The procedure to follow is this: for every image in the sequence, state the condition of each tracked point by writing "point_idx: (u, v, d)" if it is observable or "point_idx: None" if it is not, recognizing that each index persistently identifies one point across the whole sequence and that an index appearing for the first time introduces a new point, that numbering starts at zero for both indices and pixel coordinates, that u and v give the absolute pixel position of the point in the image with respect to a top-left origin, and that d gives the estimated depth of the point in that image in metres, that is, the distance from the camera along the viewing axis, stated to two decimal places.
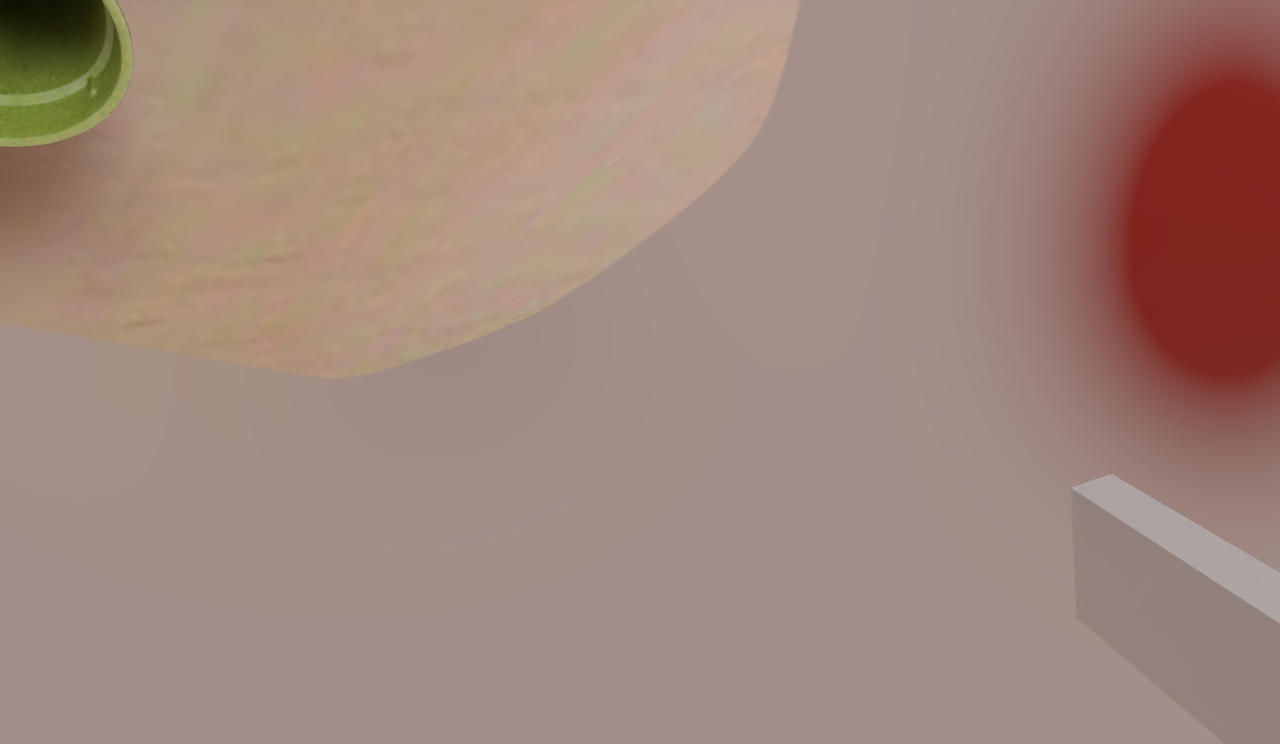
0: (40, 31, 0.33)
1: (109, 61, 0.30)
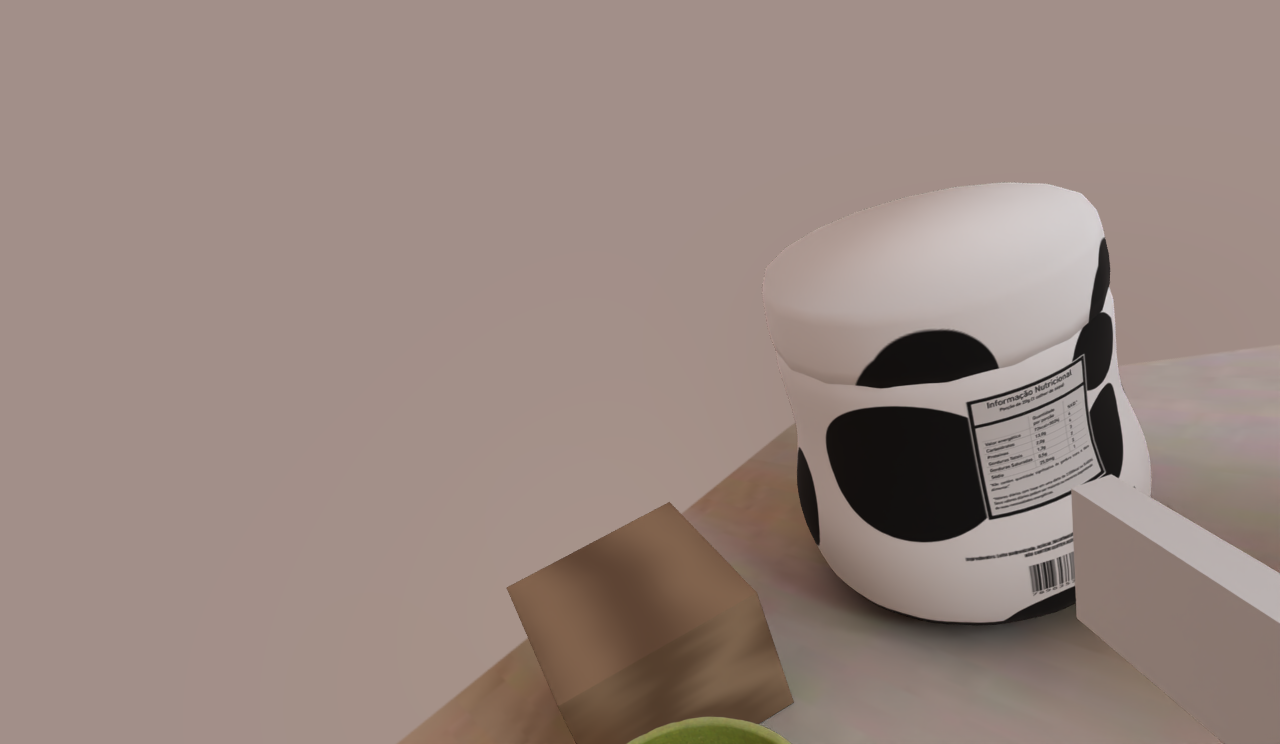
0: None
1: None
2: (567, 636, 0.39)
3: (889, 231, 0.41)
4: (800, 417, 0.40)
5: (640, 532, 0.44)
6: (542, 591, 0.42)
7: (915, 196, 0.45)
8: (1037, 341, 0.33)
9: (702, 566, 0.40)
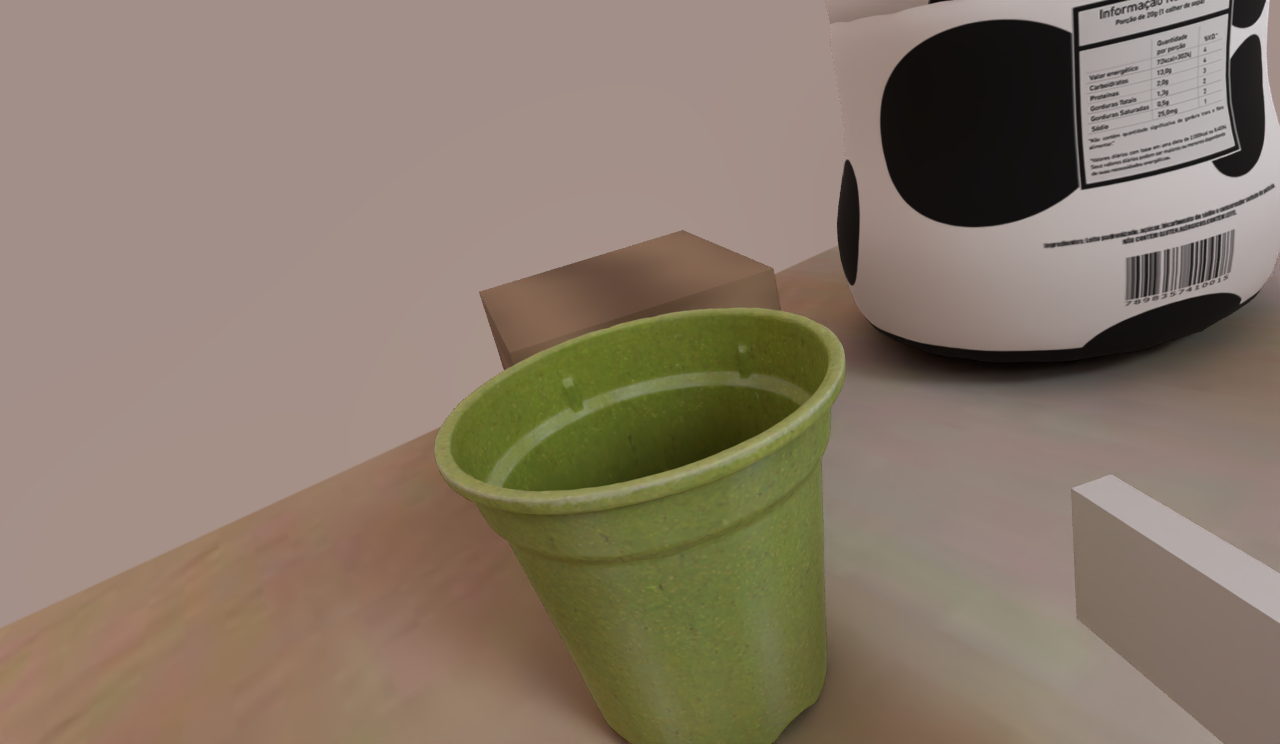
0: None
1: None
2: (537, 311, 0.32)
3: None
4: (851, 97, 0.33)
5: (643, 248, 0.37)
6: (519, 290, 0.36)
7: None
8: None
9: (710, 260, 0.33)
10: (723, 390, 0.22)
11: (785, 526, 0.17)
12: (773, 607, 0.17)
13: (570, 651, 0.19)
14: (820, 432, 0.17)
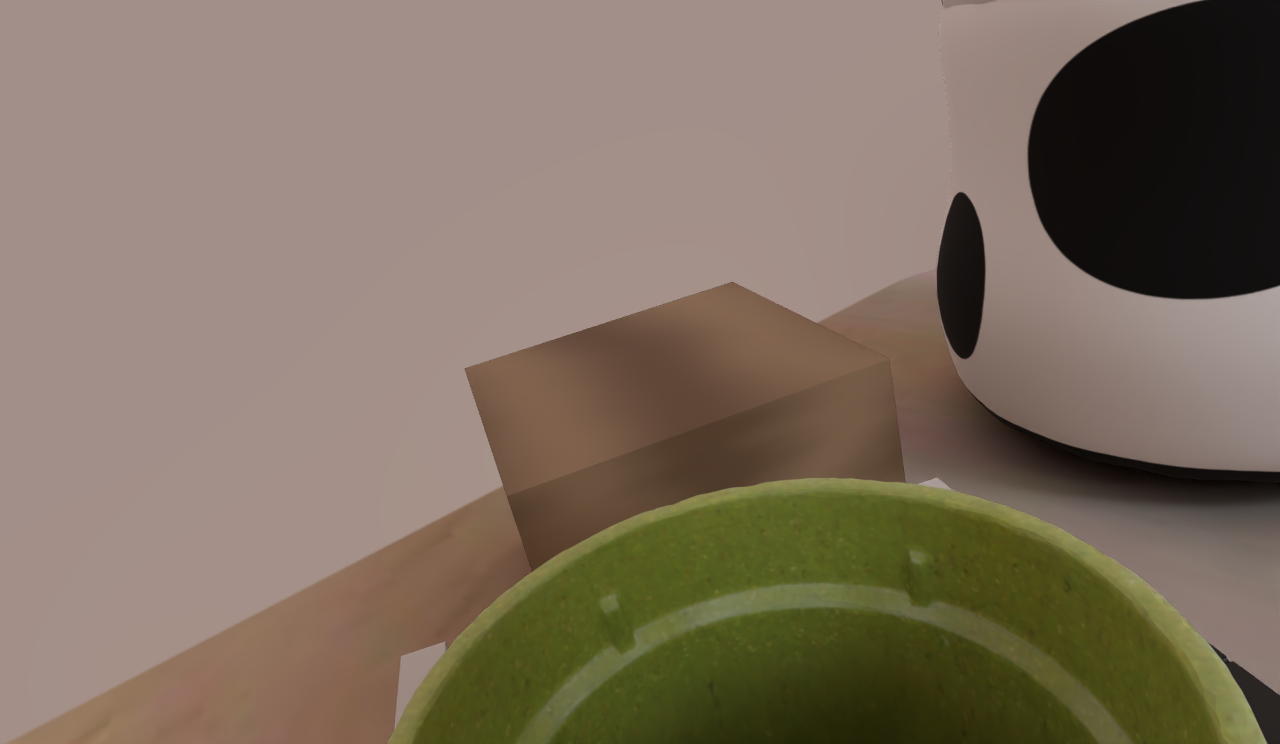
0: None
1: None
2: (545, 413, 0.22)
3: None
4: (979, 109, 0.24)
5: (684, 309, 0.28)
6: (518, 370, 0.26)
7: None
8: None
9: (786, 336, 0.24)
10: (877, 619, 0.13)
11: None
12: None
13: None
14: None
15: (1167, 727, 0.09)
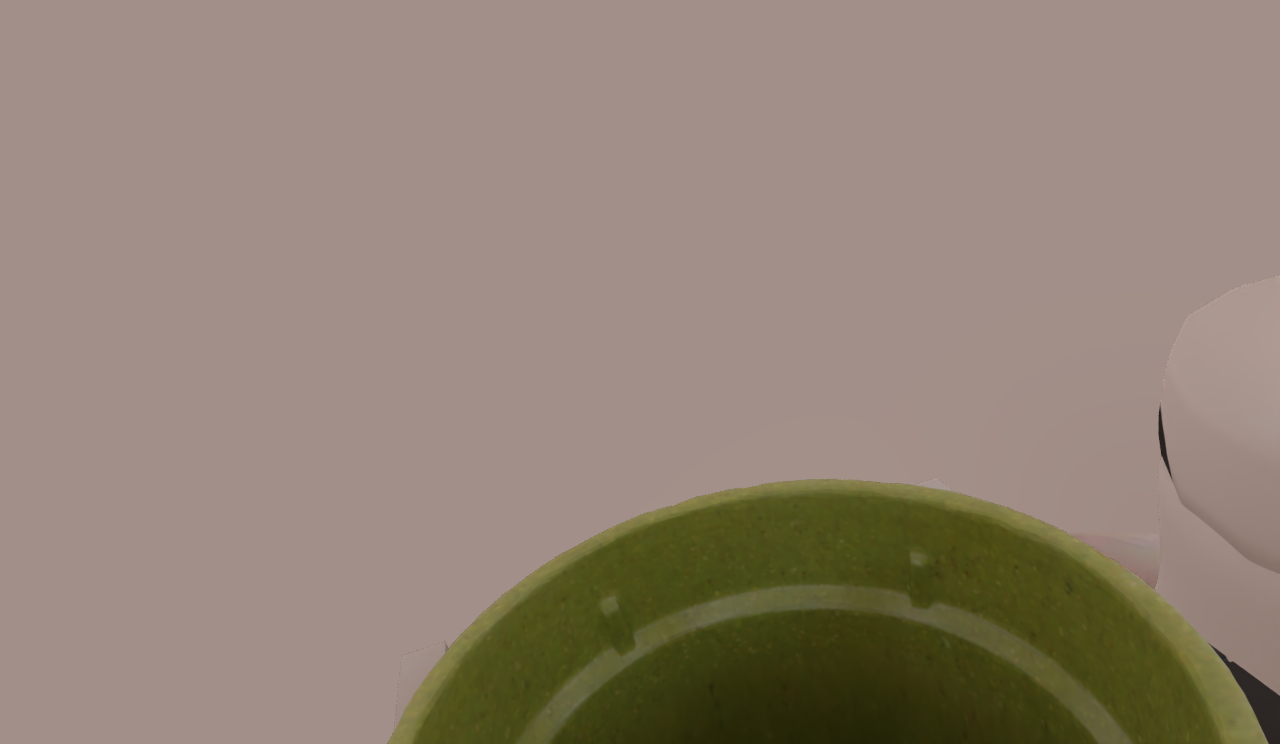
0: None
1: None
2: None
3: None
4: (1227, 638, 0.22)
5: None
6: None
7: None
8: None
9: None
10: (878, 620, 0.13)
11: None
12: None
13: None
14: None
15: (1169, 730, 0.09)
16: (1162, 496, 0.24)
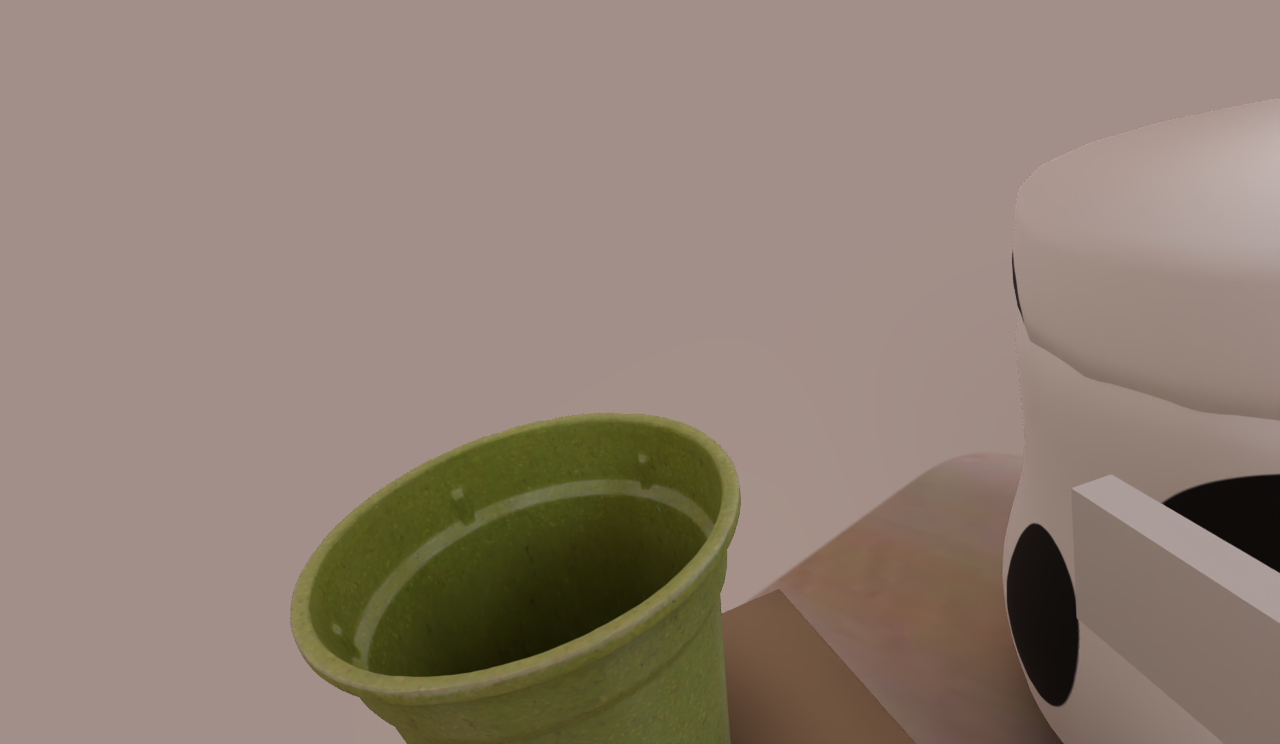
0: None
1: None
2: None
3: (1271, 138, 0.22)
4: (1076, 472, 0.21)
5: (729, 641, 0.25)
6: None
7: (1274, 100, 0.25)
8: None
9: (861, 741, 0.20)
10: (624, 499, 0.21)
11: (675, 683, 0.16)
12: None
13: None
14: (711, 583, 0.15)
15: None
16: (1017, 344, 0.24)
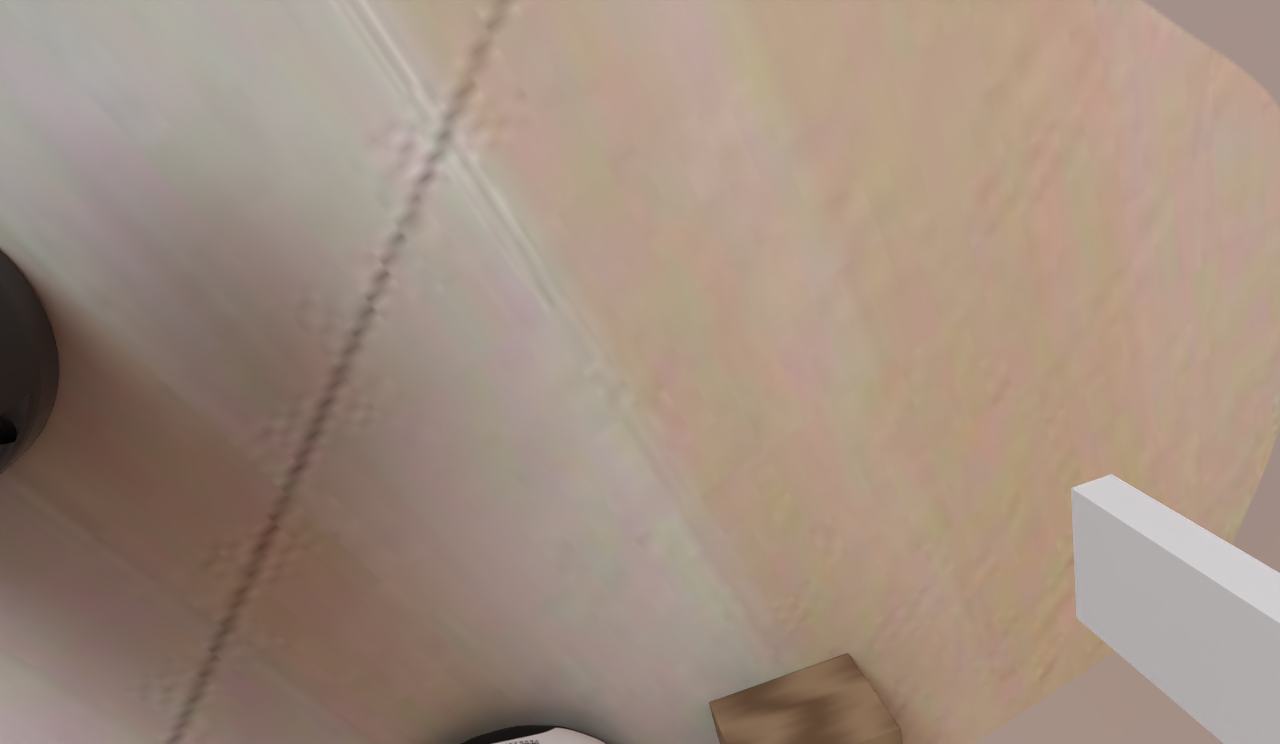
0: None
1: None
2: None
3: None
4: None
5: None
6: None
7: None
8: None
9: None
10: None
11: None
12: None
13: None
14: None
15: None
16: None
